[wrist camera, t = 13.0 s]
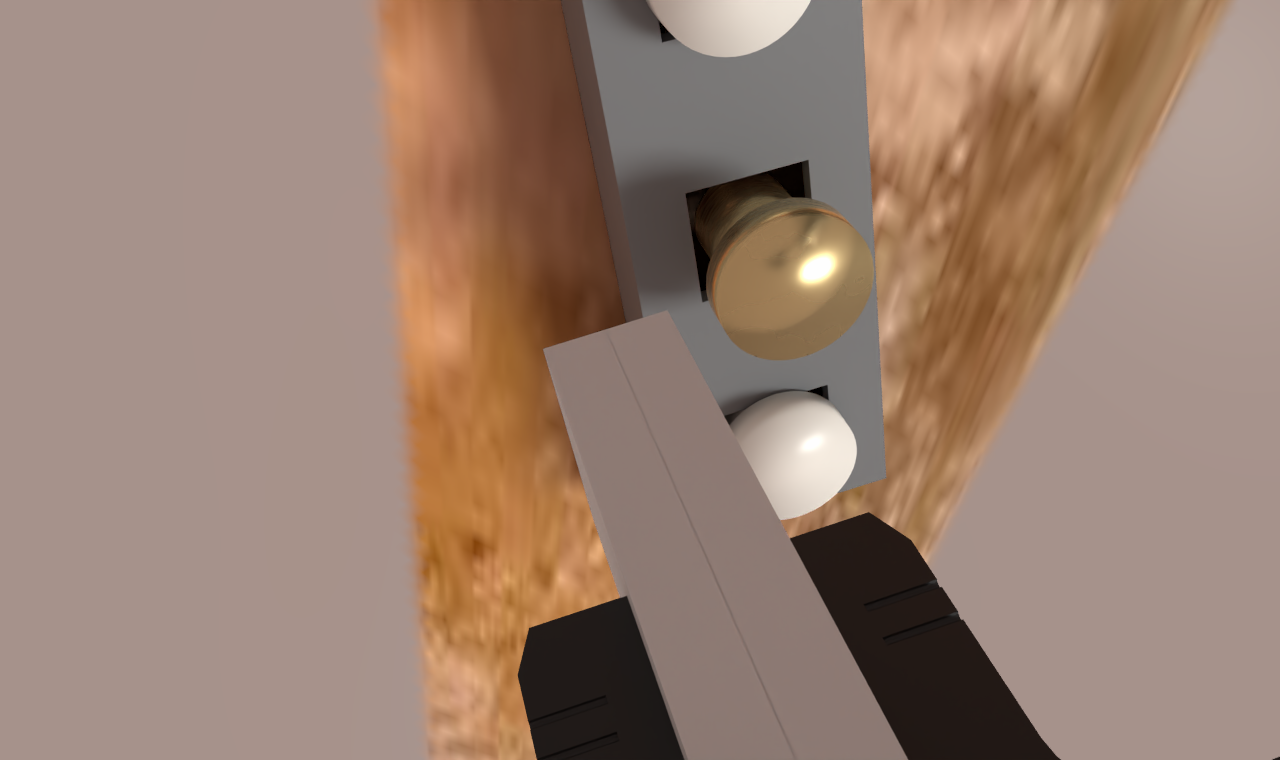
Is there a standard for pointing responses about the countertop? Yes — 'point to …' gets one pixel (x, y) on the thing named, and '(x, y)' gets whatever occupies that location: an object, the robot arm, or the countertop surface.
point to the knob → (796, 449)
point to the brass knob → (781, 268)
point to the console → (721, 152)
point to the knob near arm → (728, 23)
